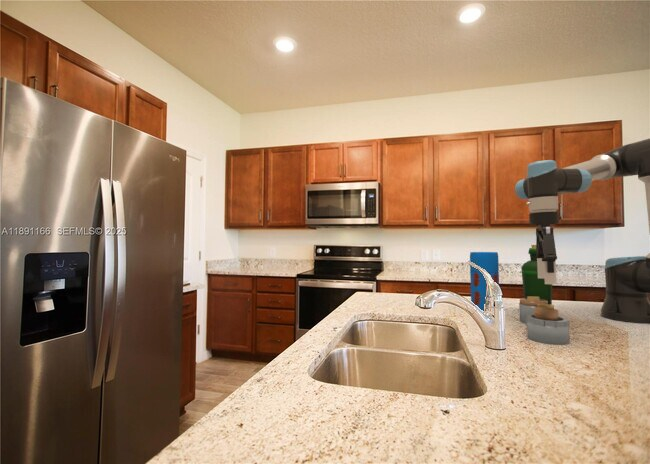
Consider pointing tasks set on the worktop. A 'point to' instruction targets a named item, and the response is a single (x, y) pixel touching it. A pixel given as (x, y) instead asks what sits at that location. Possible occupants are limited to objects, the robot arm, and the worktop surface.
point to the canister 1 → (529, 306)
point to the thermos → (477, 279)
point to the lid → (546, 312)
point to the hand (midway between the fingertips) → (546, 281)
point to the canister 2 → (548, 330)
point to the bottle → (535, 279)
